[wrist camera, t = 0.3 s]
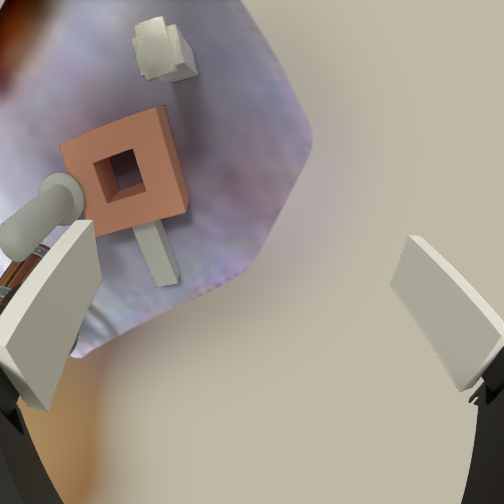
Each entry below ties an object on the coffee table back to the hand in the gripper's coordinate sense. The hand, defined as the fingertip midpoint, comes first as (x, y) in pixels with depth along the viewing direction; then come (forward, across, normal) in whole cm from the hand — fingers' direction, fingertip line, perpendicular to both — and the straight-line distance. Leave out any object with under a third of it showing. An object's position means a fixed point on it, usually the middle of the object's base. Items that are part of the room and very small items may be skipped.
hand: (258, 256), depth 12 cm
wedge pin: (+26, -7, +9) cm, 28 cm away
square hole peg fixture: (+26, -13, -9) cm, 30 cm away
